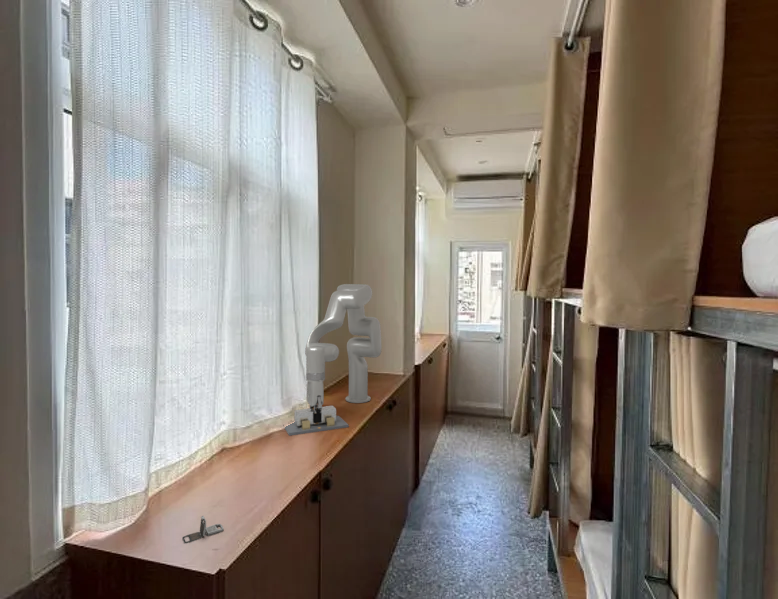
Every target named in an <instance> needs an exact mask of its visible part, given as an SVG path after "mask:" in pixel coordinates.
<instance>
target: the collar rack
mask: <svg viewBox="0 0 778 599" xmlns="http://www.w3.org/2000/svg"><path fill="white" fill-rule="evenodd" d="M293 422H294V421H293ZM349 427H350V426H349V424H348V423H347V422H346V421H345V420H344V419H343V418H342V417H341V416H339V415H336V421H335V418H334V417H329V418H326V422H324V423H318V424H310V421H309V420H306V421H302V426H297V425H296V424H295V422H294V423H292V424H290V425H288V426H286V427H285V428H284V430H285V431H286V433H287V434H288V436H296V435H303V434H304V435H305V434H311V433H317V432H324V431H331V430H338V429H345V428H349Z"/></svg>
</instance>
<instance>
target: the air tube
mask: <svg viewBox="0 0 778 599" xmlns="http://www.w3.org/2000/svg"><path fill="white" fill-rule="evenodd" d="M317 408H318V407H317ZM317 408H316V409H317ZM313 413H314V408H310V407H309V408H303V409H294V421H295V424H296V425H297V426H302V421H306V420H309V421H310V424H318V423H314V422H313ZM336 416H337V408H336V407H335V406H334V405H326V406H322V422H320V423H324V422H326V418H329V417H334V418H335V421H336Z"/></svg>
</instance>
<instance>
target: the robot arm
mask: <svg viewBox="0 0 778 599" xmlns="http://www.w3.org/2000/svg"><path fill="white" fill-rule="evenodd" d="M372 297H373V290H372V288H371V286H370V285H369V284H366V283H365V284H362V283H360V284H358V283H357V284H356V283H350V284H349V283H344V284H340V285H338V286H337V288H336V290H335V291H333V292H332V294H331V296H330V298H329V302H328V305H327V309H326V312H325V316H324V318H323V320H322V321H320V322H319V323H318V324H317V325H316V326H315V327H314V328H313V329H312V331H311V332H310V333H309V335H308V338H307V341H306V345H305V350H304V353H305V360H306V361H305V365H306V366H305V368H306V370H305V373H306V375H305V376H306V379H305V380H306V382H307V384H306V402H307V403H308V404H309V408H314V413H313V422H314V423H320V422H322V407H323V405H324V401H325V398H324V396H325V395H324V394H325V393H324V381H325V380H326V363H328V362H329V363H330V362H333V361H335V360H337V359H338V357H339V355H340V348H339V347H338V346H337V345H336V344H334V343H327V342H319V341H320V339H321V338H322V337H323V336H325V335H326V334H328V333H330V332H332V331H335V330H337V329H340V328H341V327H342V326H344V325H343V324H344V322H345V318H346V314H347V322H348V323H347V325H348V332H349V333H350V334H351V335H353V336H355V337H350V339H348V341H347V343H346V351H347V357H348V395H347V396H345V401H346V402H348V403H352V404H361V403H363V404H364V403H368V402H369V401H371V396H370V395H368V392H369V391H368V386H369V385H368V383H369V382H368V378H369V376H368V375H369V374H368V372H369V371H368V369H369V368H368V367H369V365H368V363H367V360H366V358H378V357H380V356H381V353H382V348H383V347H382V331H381V322H380V320H379V319H378V318H377V317H375V316H366V312H365V305H367V304H368V303H369V302H370V300H371V299H372ZM356 336H357V337H356ZM358 336H359V337H358ZM317 407H318V408H317ZM316 408H317V409H316Z"/></svg>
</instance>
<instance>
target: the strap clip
mask: <svg viewBox="0 0 778 599" xmlns="http://www.w3.org/2000/svg"><path fill="white" fill-rule="evenodd" d="M200 518H201V519H200V525H199V526H200V527H199V531H196V532H193V533H190V534H187V535H184V536H182V541H183V543H184V544H188V543H192V542H195V541H197V540H198V541H199V540H200V539H202V538H204V536H206V537H207V536H208V537H210V536H214V535H216V534H219V533H222V532H224V530H225V529H224V527H223V525H222V523H217V524H212V525H209V526H207V520H206V518H205V516H204V515H202V516H200ZM218 528H219V529H218ZM187 537H188V539H189V540H188V541H187V540H186V539H185V538H187Z"/></svg>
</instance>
